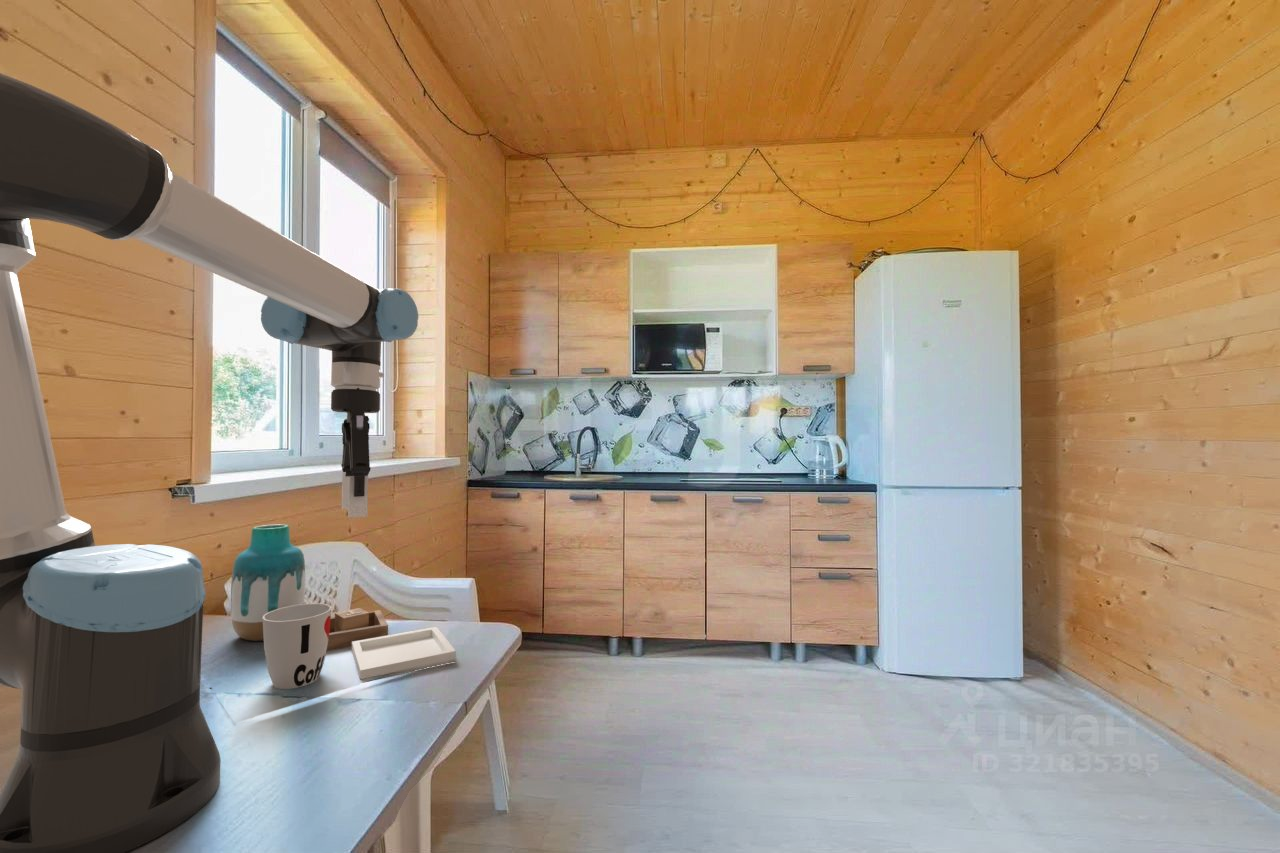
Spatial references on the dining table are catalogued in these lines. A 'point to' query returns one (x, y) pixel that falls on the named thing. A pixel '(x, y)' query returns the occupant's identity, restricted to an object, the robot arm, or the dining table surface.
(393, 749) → the dining table surface
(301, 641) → the cup
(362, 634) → the brown wooden tray
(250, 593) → the vase
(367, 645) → the tray
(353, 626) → the letter cube
